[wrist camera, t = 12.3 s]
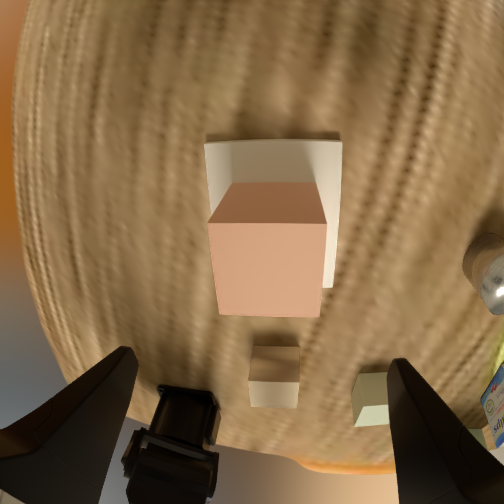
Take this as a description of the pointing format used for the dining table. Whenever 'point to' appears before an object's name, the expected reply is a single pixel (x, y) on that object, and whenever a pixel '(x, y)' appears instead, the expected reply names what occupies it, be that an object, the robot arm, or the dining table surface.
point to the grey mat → (281, 175)
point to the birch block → (274, 376)
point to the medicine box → (495, 406)
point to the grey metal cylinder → (487, 270)
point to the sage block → (370, 400)
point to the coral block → (269, 249)
